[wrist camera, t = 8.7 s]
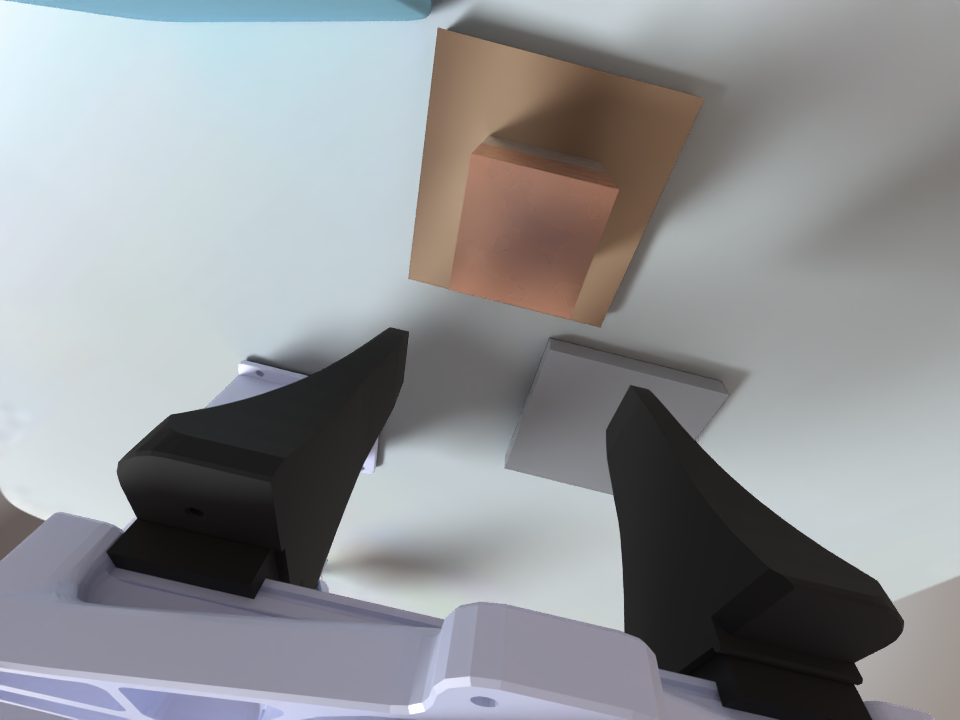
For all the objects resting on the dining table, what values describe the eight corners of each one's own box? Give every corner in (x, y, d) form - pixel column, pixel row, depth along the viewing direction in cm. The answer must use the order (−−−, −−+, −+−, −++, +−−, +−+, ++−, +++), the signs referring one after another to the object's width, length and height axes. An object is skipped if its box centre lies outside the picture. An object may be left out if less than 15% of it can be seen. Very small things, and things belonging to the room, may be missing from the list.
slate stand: (505, 454, 28) (504, 468, 27) (549, 337, 23) (549, 349, 22) (643, 488, 29) (646, 503, 28) (721, 381, 23) (729, 394, 22)
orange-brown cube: (468, 244, 19) (448, 289, 15) (489, 134, 16) (471, 153, 12) (564, 267, 19) (569, 318, 15) (600, 162, 16) (619, 189, 12)
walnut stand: (414, 269, 21) (408, 279, 20) (444, 31, 16) (437, 27, 15) (597, 316, 22) (600, 327, 21) (694, 97, 16) (704, 98, 15)
